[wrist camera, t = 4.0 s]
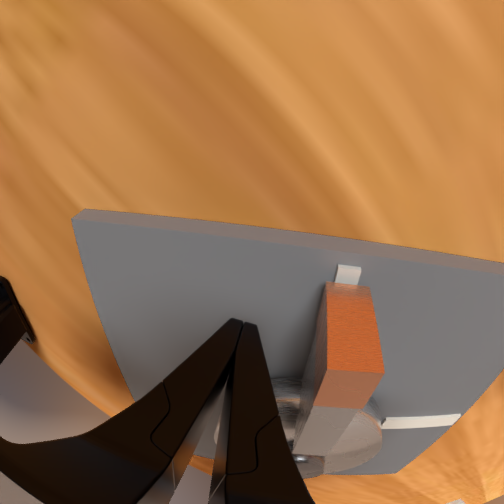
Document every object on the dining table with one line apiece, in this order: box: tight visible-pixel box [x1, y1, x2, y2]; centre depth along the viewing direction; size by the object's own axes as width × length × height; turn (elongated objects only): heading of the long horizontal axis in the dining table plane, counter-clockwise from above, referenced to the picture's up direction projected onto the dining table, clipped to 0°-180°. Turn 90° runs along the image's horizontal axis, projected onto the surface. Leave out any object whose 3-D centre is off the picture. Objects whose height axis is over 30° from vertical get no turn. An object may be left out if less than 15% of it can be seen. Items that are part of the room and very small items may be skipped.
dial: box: [214, 281, 385, 479], centre depth 12 cm, size 15×9×4 cm, turn 177°
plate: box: [71, 209, 504, 475], centre depth 16 cm, size 22×22×1 cm
